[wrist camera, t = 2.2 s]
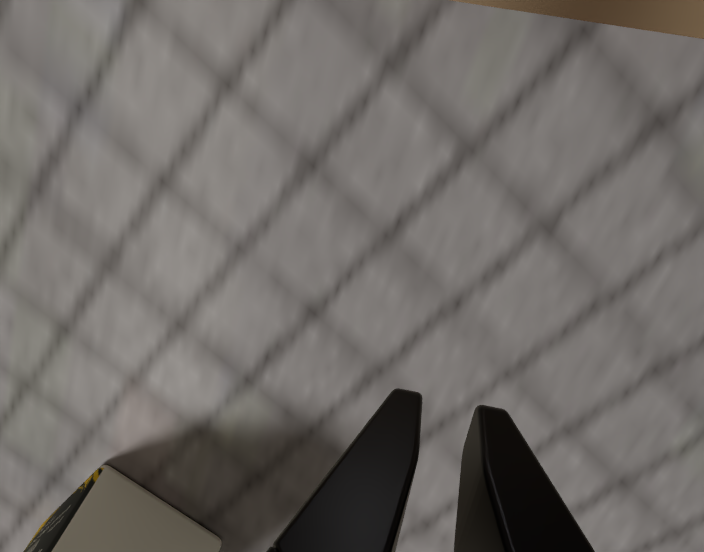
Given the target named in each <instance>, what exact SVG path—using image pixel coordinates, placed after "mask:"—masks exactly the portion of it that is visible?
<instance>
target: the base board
mask: <svg viewBox="0 0 704 552" xmlns="http://www.w3.org/2000/svg"><path fill="white" fill-rule="evenodd" d="M451 1H458V2H465V3H471V4H478V5H484V6H491V7H498V8H504V9H511V10H517V11H524V12H530V13H537V14H544V15H550V16H557V17H563V18H570V19H577V20H583V21H590V22H596V23H603V24H609V25H616V26H623V27H629V28H636V29H642V30H649V31H656V32H662V33H669V34H675V35H682V36H688V37H695V38H702V39H704V0H451Z"/></svg>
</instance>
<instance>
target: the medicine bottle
mask: <svg viewBox="0 0 704 552" xmlns="http://www.w3.org/2000/svg"><path fill="white" fill-rule="evenodd" d="M221 543H222V542H221V540H220V538H219V537H218V536H216V535H215V534H213V533H212V532H210V531H208V530H207V529H205V528H204V527H202V526H201V525H199V524H198V523H196V522H195V521H193V520H192V519H190V518H189V517H187V516H185V515H184V514H182V513H181V512H179V511H178V510H176V509H175V508H173V507H172V506H170V505H169V504H167V503H166V502H164V501H162V500H161V499H159V498H158V497H156V496H155V495H153V494H152V493H150V492H149V491H147V490H146V489H144V488H143V487H141V486H139V485H138V484H136V483H135V482H133V481H132V480H130V479H129V478H127V477H126V476H124V475H123V474H121V473H120V472H118V471H116V470H115V469H113V468H112V467H110V466H108V465H103V466H101V467H99V468H98V469H97V470H96V471H95V472H94V473H93V474H92V475H91V476H90V477H89V478H88V479H87V480H86V481H85V482H84V483H83V484H82V485H81V486H80V487H79V488H78V489H77V490H76V491H75V492H74V493H73V494H72V495H71V496H70V497H69V498H68V499H67V500H66V501H65V502H64V503H63V504H62V505H61V506H60V507H59V508H58V509H57V510H56V511H55V512H54V513H53V514H52V515H51V516H50V517H49V518H48V519H47V520H46V521H45V522H44V523H43V524H42V525H41V527H40V528H39V530H38V531H37V532H36V534H35V535H34V537H33V538H32V540H31V541H30V543H29V544H28V546H27V547H26V549H25V550H24V552H219V551H220V548H221Z"/></svg>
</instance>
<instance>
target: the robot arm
mask: <svg viewBox="0 0 704 552" xmlns="http://www.w3.org/2000/svg"><path fill="white" fill-rule="evenodd" d="M421 413H422V395H421V394H420V393H418V392H414V391H409V390H404V389H394V390H393V391H392V392H391V393H390V394H389V396H388V397H387V398H386V400H385V401H384V402H383V403H382V405H381V406H380V407H379V409H378V410H377V411H376V412H375V414H374V415H373V416H372V418H371V419H370V420H369V421H368V423H367V424H366V425H365V427H364V428H363V429H362V430H361V432H360V433H359V434H358V435H357V437H356V438H355V439H354V441H353V442H352V443H351V444H350V446H349V447H348V448H347V450H346V451H345V452H344V453H343V455H342V456H341V457H340V459H339V460H338V461H337V462H336V464H335V465H334V466H333V468H332V469H331V470H330V471H329V473H328V474H327V475H326V477H325V478H324V479H323V480H322V482H321V483H320V484H319V485H318V487H317V488H316V489H315V491H314V492H313V493H312V494H311V496H310V497H309V498H308V500H307V501H306V502H305V503H304V505H303V506H302V507H301V509H300V510H299V511H298V512H297V514H296V515H295V516H294V518H293V519H292V520H291V521H290V523H289V524H288V525H287V527H286V528H285V529H284V530H283V532H282V533H281V534H280V535H279V537H278V538H277V539H276V541H275V542H274V544H273V547H270V548H269V549H268V550H267V552H395V550H396V546H397V542H398V538H399V534H400V530H401V526H402V522H403V518H404V514H405V510H406V506H407V502H408V498H409V494H410V490H411V486H412V482H413V478H414V474H415V470H416V465H417V461H418V455H419V446H420V430H421ZM454 552H595V551H594V550H593V548H592V546H591V545H590V543H589V542H588V540H587V538H586V537H585V535H584V534H583V532H582V530H581V529H580V527H579V526H578V524H577V522H576V521H575V519H574V518H573V516H572V514H571V513H570V511H569V510H568V508H567V506H566V505H565V503H564V502H563V500H562V498H561V497H560V495H559V494H558V492H557V490H556V489H555V487H554V486H553V484H552V482H551V481H550V479H549V478H548V476H547V474H546V473H545V471H544V470H543V468H542V466H541V465H540V463H539V462H538V460H537V458H536V457H535V455H534V454H533V452H532V450H531V449H530V447H529V446H528V444H527V442H526V441H525V439H524V438H523V436H522V434H521V433H520V431H519V430H518V428H517V426H516V425H515V423H514V422H513V420H512V418H511V417H510V415H509V414H508V412H507V411H505V410H504V409H500V408H495V407H490V406H485V405H479V406H477V407H476V409H475V411H474V414H473V417H472V421H471V424H470V427H469V431H468V434H467V437H466V441H465V444H464V448H463V454H462V462H461V473H460V485H459V496H458V508H457V519H456V530H455V542H454Z"/></svg>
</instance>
